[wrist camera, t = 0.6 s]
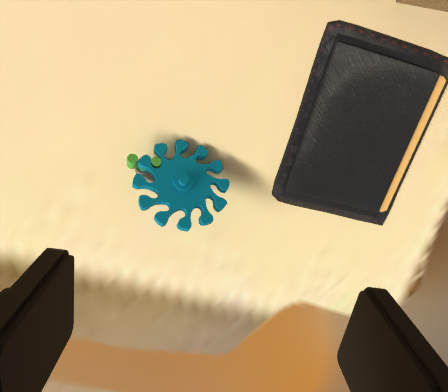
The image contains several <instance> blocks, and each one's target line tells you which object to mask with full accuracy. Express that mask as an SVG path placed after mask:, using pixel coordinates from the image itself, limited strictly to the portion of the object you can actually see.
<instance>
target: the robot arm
mask: <svg viewBox="0 0 448 392" xmlns="http://www.w3.org/2000/svg"><path fill="white" fill-rule="evenodd" d="M73 324H74V256H72V255H69V253H68V251H67V250H62V249H54V248H47V249H46V250H45V251H44V252H43V253H42V254H41V255H40V256H39V257H38V258H37V259H36V260H35V261H34V262H33V264H32V265H31V266H30V267H29V268H28V269H27V270H26V271H25V272H24V273H23V274H22V276H21V277H20V278H19V279H18V280H17V281H16V282H15V283H14V284H13V285H12V286H11V287H10V288H6V289H4V290H3V291H1V292H0V392H41V391H42V389H43V387H44V386H45V384H46V382H47V380H48V378H49V376H50V374H51V372H52V370H53V369H54V367H55V365H56V363H57V361H58V359H59V357H60V355H61V353H62V351H63V350H64V348H65V346H66V344H67V342H68V340H69V338H70V336H71V333H72V330H73ZM337 359H338V363H339V366H340V368H341V371H342V373H343V375H344V377H345V380H346V382H347V384H348V387H349V389H350V391H351V392H448V367H447V365H446V364H445V363H444V361H443V360H442V359H441V358H440V357H439V355H438V354H437V353H436V352H435V350H434V349H433V348H432V347H431V345H430V344H429V343H428V341H427V340H426V339H425V338H424V336H423V335H422V334H421V333H420V331H419V330H418V329H417V327H416V326H415V325H414V324H413V322H412V321H411V320H410V319H409V317H408V316H407V315H406V314H405V312H404V311H403V310H402V309H401V307H400V306H399V305H398V304H397V302H396V301H395V300H394V299H393V297H392V296H391V295H390V293H389V292H388V291H387V290H386V289H380V288H372V287H367V288H366V289H365V290H364V291H361V292H360V293H359V295H358V298H357V301H356V304H355V306H354V309H353V312H352V314H351V317H350V320H349V323H348V325H347V329H346V331H345V334H344V336H343V339H342V342H341V344H340V347H339V350H338V354H337Z"/></svg>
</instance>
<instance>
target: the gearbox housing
mask: <svg viewBox="0 0 448 392" xmlns="http://www.w3.org/2000/svg"><path fill="white" fill-rule="evenodd" d="M396 2H397V3H403V4H408V5H414V6H419V7H424V8H430V9H435V10H441V11H446V12H448V0H396Z"/></svg>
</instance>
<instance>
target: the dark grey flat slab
mask: <svg viewBox="0 0 448 392" xmlns="http://www.w3.org/2000/svg"><path fill="white" fill-rule="evenodd" d="M447 84H448V57H445V56H443V55H440V54H438V53H436V52H434V51H431V50H429V49H426V48H423V47H420V46H417V45H414V44H411V43H408V42H405V41H402V40H399V39H396V38H393V37H390V36H387V35H384V34H381V33H379V32H376V31H373V30H370V29H367V28H364V27H361V26H358V25H354V24H351V23H347V22H344V21H340V20H338V21H332V22H328V23H327V26H326V28H325V31H324V34H323V37H322V39H321V42H320V45H319V48H318V51H317V54H316V57H315V60H314V63H313V67H312V70H311V73H310V76H309V79H308V83H307V86H306V89H305V92H304V95H303V99H302V102H301V105H300V108H299V111H298V115H297V118H296V121H295V124H294V127H293V129H292V132H291V135H290V138H289V141H288V144H287V147H286V150H285V153H284V156H283V159H282V161H281V164H280V167H279V170H278V172H277V175H276V178H275V181H274V185H273V190H272V195H273V196H274V197H275V198H276V199H277V200H278V201H280V202H284V203H287V204H291V205H295V206H299V207H304V208H308V209H313V210H318V211H322V212H327V213H331V214H335V215H339V216H343V217H347V218H351V219H355V220H360V221H364V222H369V223H374V224H378V225H383V223H384V221H385V219H386V217H387V215H388V214H389V212H390V209H391V207H392V205H393V202H394V200H395V197H396V195H397V193H398V190H399V188H400V186H401V184H402V182H403V179H404V177H405V175H406V173H407V171H408V169H409V166H410V164H411V162H412V160H413V158H414V156H415V153H416V151H417V149H418V147H419V145H420V143H421V140H422V138H423V136H424V134H425V132H426V129H427V127H428V125H429V123H430V121H431V119H432V116H433V114H434V112H435V110H436V108H437V106H438V103H439V101H440V99H441V97H442V95H443V93H444V90H445V88H446V86H447Z"/></svg>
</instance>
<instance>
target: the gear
mask: <svg viewBox="0 0 448 392" xmlns="http://www.w3.org/2000/svg"><path fill="white" fill-rule="evenodd" d="M187 147H188V143H187V142H185V141H182V140H177V141H176V144H175V151H176V154H175V156H174V157H173V159H171V160H168V159H166V158H165V157H164V155H165V154H166V151H167V145H166V144H164V143H161V144H156V145H155V146H154V153H155V154H156V155H157V157H153V158H152V160H151V158H150V157H149V156H148V155H144V156H142V157H141V158H140V159H139V160H138V157H137V155H135V154H130V155H128V157H127V166H128V167H129V168H130V169H135V171H136V173H137V174H136V175H135V177H134V179H133V185H132V187H133V188H135V189H149V190H151V191H153V192H155V193H156V194H157V195H158V197H157V198H154V199H153V198H150V197H149V196H147V195H141V196H139V206H140V209H141V210H147V209H149V208H150V207H152V206H154V205H159V204H163V205H167V206H168V207H169V210H168V211H160V212H157V213H156V215H155V217H154V220H155V221H156V223H158V224H159V225H160V226H161V227H162V226H165V225H166V223H167V221H168V218H169V217H170V216H171V215H172V214H173V213H175V212H177V211H179V210H181V211H183V212H184V213H185V217H183V218H181V219H180V220H179V222H178V224H177V228H178V229H179V230H182V231H189V229H190V228H191V219H190V216H191V212H192V210H193V209H194V208H199V209H200V210H201V216H200V218H199V224H200V225H202V226H204V225H208V224H211V223H212V221H213V216H212V215H211V214H210V213H209V211H208V210H207V207H206V201H205V199H207V198H209V199H211V200H212V201H213V207H214V209H215V211H217V212H219V211H221V210H222V209H223V208H224V207H225V205H226V204H227V201H226V200H225V199H224V198H221V197H219V196H217V195H216V194H215V193H214V192H213V191H212V189H211V188H210V185H215V186H216V187H217V189H218V190H219V191H220V192H222V193H225V192H226V191H227V189H228V187H229V180H228V179H216V178H213V177H211V176H210V175H208V174H207V173H206V171H207V170H209V171H211V172H213V173H216V174H219V173H220V172H221V171H222V169H223V166H222V163H221V161H220V160H214V161H213V162H212V163H209V164H198V163H197V162H196V161H195V160H196V159H205V158H206V156H207V154H208V151H207V150H206V149H205V148H204V147H203V146H202V145H200V146H198V147H197V150H196V152H195V153H194V154H193V155H192V156H190V157H188V158H183V157H181V155H180V154H182V153H184V152H185V151H186V149H187ZM146 180H148V181H150V182H152V183H149V182H147V181H146Z"/></svg>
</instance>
